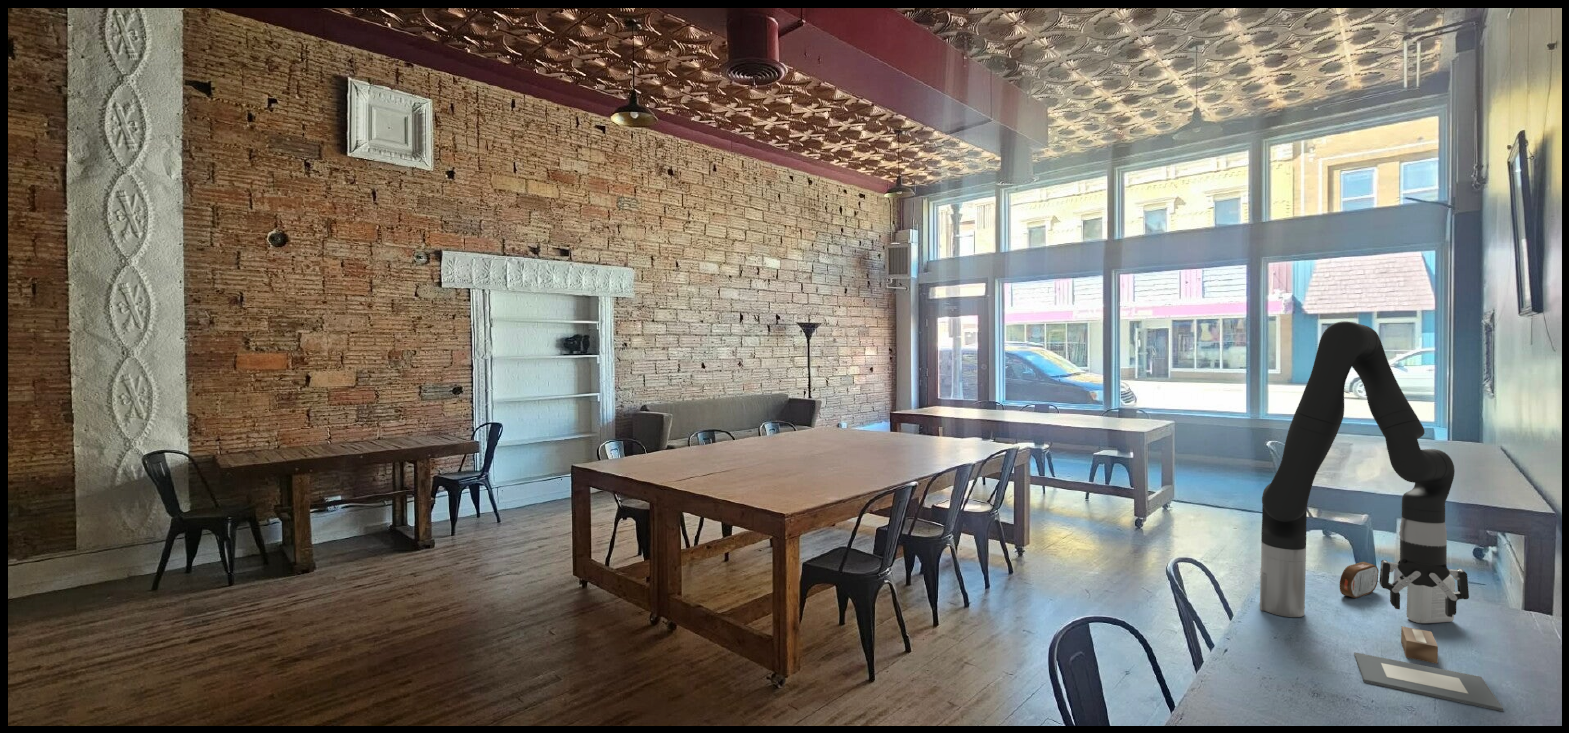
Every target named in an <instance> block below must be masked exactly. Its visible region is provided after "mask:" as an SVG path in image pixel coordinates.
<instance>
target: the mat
mask: <svg viewBox="0 0 1569 733" xmlns="http://www.w3.org/2000/svg"><path fill="white" fill-rule="evenodd" d="M1353 655H1354V658H1355V661H1356V664H1357V666H1358V669H1359V672H1360V675H1361V678H1362V680H1363V683H1367V684H1371V685H1377V686H1380V687H1386V688H1389V689H1395V690H1399V691H1405V692H1407V693H1408V692H1409V693H1413V694H1419V695H1424V696H1429V697H1433V698H1437V699H1442V700H1448V701H1452V702H1458V703H1462V704H1466V705H1469V706H1470V705H1471V706H1475V707H1481V708H1484V709H1488V710H1489V709H1490V710H1494V711H1500V712H1504V707H1503V706H1502V704H1501V702H1500V701H1499V700H1498V699H1497V697H1496V696H1495V695H1494V693H1493V692H1492V690H1491V689H1490V687H1489V686H1488V684H1487V683H1486V681H1485V679H1484V678H1483V677H1482V676H1480V675H1474V674H1468V673H1465V672H1464V673H1463V672H1459V671H1458V672H1457V671H1453V670H1449V669H1443V668H1438V667H1433V666H1426V665H1423V664H1417V663H1412V662H1407V661H1403V660H1402V661H1401V660H1397V659H1392V658H1386V657H1380V656H1375V655H1370V654H1367V653H1360V652H1355V651H1354V652H1353Z"/></svg>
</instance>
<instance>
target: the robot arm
mask: <svg viewBox="0 0 1569 733" xmlns="http://www.w3.org/2000/svg"><path fill="white" fill-rule="evenodd" d="M1352 368H1353V370H1354V371H1355V373H1356V374H1357V375H1358V377H1359V378H1360V381H1361V383H1362V385H1363V388H1364V392H1365V395H1366V399H1367V405H1368V408H1369V411H1370V413H1371V415H1372V417H1373V420H1374V422H1376V424H1377V426H1378V428H1379V430H1380V432H1381V433H1382V435H1383V437H1384V438H1385V444H1386V445H1385V446H1386V449H1387V453H1388V456H1389V457H1388V459H1389V462H1390V465H1391V468H1393V471H1395V474H1397V476H1398V477H1399V478H1401V479H1402V480H1404V481H1406V482H1409V483H1413V484H1414V486H1413V488H1412V489H1410V490H1409V491H1407V492H1405V493H1403V495H1402V497H1401V519H1400V520H1401V521H1400V525H1399V560H1398V562H1391V561H1388V560H1386V559H1382V560H1380V570H1379V581H1378V582H1379V585H1380V586H1381V588H1383V589H1385V590H1388V591H1389V603H1390V604H1391V605H1392V607H1393V608H1394V609H1395V610H1401V593H1400V592H1401V590H1403V589H1404V588H1407V587H1408V585H1409V584H1410V583H1412V584H1414V585H1419V586H1420V585H1425V586H1428V587H1434V586H1437V585H1438V586H1439V587H1440V588H1441V589H1442V591H1443V592H1444V593H1445V594H1446V595H1447V597H1445V614H1446V615H1447V617H1452V615H1454V616H1455V615H1457V602H1458V601H1459V600H1468V599H1469V598H1470V595H1469V592H1470V591H1469V582H1468V581H1469V579H1468V573H1467V572H1466V571H1465V570H1464V569H1463V568H1457V569H1449V568H1448V566H1447V565H1448V563H1447V559H1448V558H1447V548H1448V547H1447V544H1448V543H1447V542H1448V541H1447V540H1448V539H1447V538H1448V531H1447V527H1446V502H1447V499H1448V496H1449V495H1450V492H1451V488H1452V485H1453V482H1454V477H1455V465H1454V462H1453V460H1452V458H1451V457H1450V456H1449V455H1448V454H1447V453H1446V452H1445V451H1442V450H1440V449H1436V448H1426V449H1425V448H1424V449H1421V447H1420V444H1419V440H1418V439H1421V438H1422V437H1423V436H1424V435H1425V428H1424V426H1423V424H1422V422H1421V421H1420V419H1419V417H1418V416H1417V414H1416V412H1415V411H1414V409H1413V407H1412V406H1411V404H1410V403H1409V401H1408V400H1407V397H1406V396H1405V394H1404V392H1403V391H1402V389H1401V387H1400V385H1399V383H1398V381H1397V379H1396V377H1395V374H1394V373H1393V372H1394V371H1393V369H1392V368H1391V365H1390V363H1389V360H1388V357H1387V355H1386V352H1385V349H1384V346H1383V343H1382V340H1381V338H1380V336H1379V334H1378V332H1377V331H1376V330H1375V329H1373V328H1371V327H1370V326H1368V325H1364V324H1361V323H1356V322H1353V321H1350V320H1349V321H1347V320H1343V321H1341V320H1340V321H1337V322H1334V323H1332V324H1331V325H1329V326H1328V327H1327V328H1326V329H1325V330H1324V331H1323V333H1322V335H1321V336H1320V340H1319V343H1318V347H1317V350H1316V354H1315V358H1314V362H1313V366H1312V370H1311V372H1310V376H1309V379H1308V381H1307V382H1306V385H1305V388H1304V391H1303V393H1302V396H1301V397H1300V398H1301V399H1300V401H1299V403H1298V405H1297V407H1296V410H1295V413H1294V415H1293V417H1292V420H1291V423H1290V424H1289V425H1290V426H1289V428H1288V432H1287V434H1286V439H1285V443H1284V447H1283V448H1284V449H1283V454H1282V458H1281V461H1280V464H1279V466H1278V468H1277V471H1276V473H1275V474H1274V477H1273V479H1272V481H1271V482H1270V483H1268V485H1266V486H1265V488H1264V489H1263V492H1262V496H1261V504H1262V510H1261V511H1262V512H1261V514H1262V515H1261V516H1262V517H1261V533H1260V534H1261V541H1260V543H1261V546H1260V547H1261V548H1260V550H1261V551H1260V552H1261V553H1260V554H1261V555H1260V568H1259V569H1260V576H1259V578H1260V579H1259V610H1260V611H1263V612H1267V613H1269V614H1273V615H1276V616H1280V617H1281V616H1282V617H1286V618H1301V617H1304V616H1305V611H1306V574H1307V573H1306V571H1307V570H1306V568H1307V567H1306V564H1307V557H1306V556H1307V520H1308V519H1307V517H1308V516H1307V514H1308V513H1307V511H1308V502H1309V497H1310V495H1311V490H1312V487H1313V483H1314V480H1315V478H1316V475H1317V473H1318V471H1319V469H1320V467H1321V465H1322V464H1323V462H1324V461H1325V458H1326V457H1327V455H1328V453H1329V452H1330V450H1331V447H1332V446H1333V443H1334V441H1335V440H1336V437H1337V434H1338V432H1339V431H1340V428H1341V425H1342V423H1343V419H1344V415H1345V386H1346V381H1347V378H1348V375H1349V373H1350V372H1351V369H1352ZM1395 569H1397V570H1398V571H1399V572H1400V573H1401V574H1399V576H1397V578H1396V579H1395V580H1394V581H1393V582H1392V583H1390V573H1393V572H1394V571H1395ZM1449 575H1451V576H1452V577H1453V578H1454V581H1456V586H1457V587H1456V588H1457V591H1455V592H1452V591H1451V590H1450V589H1449V588H1448V587H1447V586H1446V584H1445V583H1444V582H1443V580H1444V579H1446V578H1447V577H1448V576H1449Z"/></svg>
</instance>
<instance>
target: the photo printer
mask: <svg viewBox="0 0 1569 733" xmlns="http://www.w3.org/2000/svg"><path fill="white" fill-rule="evenodd" d="M1455 581H1456V580H1455V579H1454V578H1453V576H1452V575H1449V576H1448V577H1447V578H1446V579H1444V580H1443V582H1444V583H1445V584H1446V586H1447V587H1448V588H1449V589H1450V590H1451V591H1452V592H1456V582H1455ZM1406 596H1407V597H1406V618H1407V619H1408V620H1409V621H1411V622H1414V623H1417V624H1435V623H1450V622H1453V621H1454V620H1455V615H1452V617H1447V615H1446V614H1445V597H1447V595H1446V594H1445V593H1444V592H1443V591H1442V589H1441V588H1440V587H1439V586H1438V585H1437V586H1434V587H1428V586H1425V585H1420V586H1419V585H1414V584H1412V583H1410V584H1409V585H1408V586H1407V593H1406Z"/></svg>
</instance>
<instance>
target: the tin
mask: <svg viewBox="0 0 1569 733" xmlns="http://www.w3.org/2000/svg"><path fill="white" fill-rule="evenodd" d="M1342 571H1343V572H1342V573H1341V576H1340V580H1339V591H1340V593H1341V594H1342V595H1343V596H1347V597H1349V598H1352V599H1358V598H1361V597H1364V596H1366V595H1370V594H1372V593H1373V592H1374V591H1375V590H1376V588H1377V585H1378V578H1379V574H1380V570H1379V568H1378V566H1377V565H1375V564H1372V563H1370V562H1367V561H1361V562H1358V563H1354V564H1350V565H1348V566H1345V569H1344V570H1342Z"/></svg>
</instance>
